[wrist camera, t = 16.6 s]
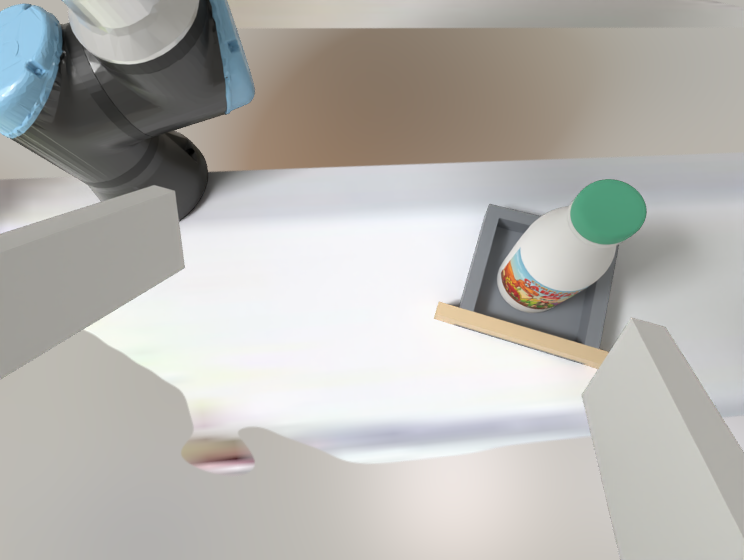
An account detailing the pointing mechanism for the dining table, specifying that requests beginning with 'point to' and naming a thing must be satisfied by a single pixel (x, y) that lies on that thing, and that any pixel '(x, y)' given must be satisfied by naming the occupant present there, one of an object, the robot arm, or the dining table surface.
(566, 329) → the tray
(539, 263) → the milk bottle
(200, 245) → the dining table surface
